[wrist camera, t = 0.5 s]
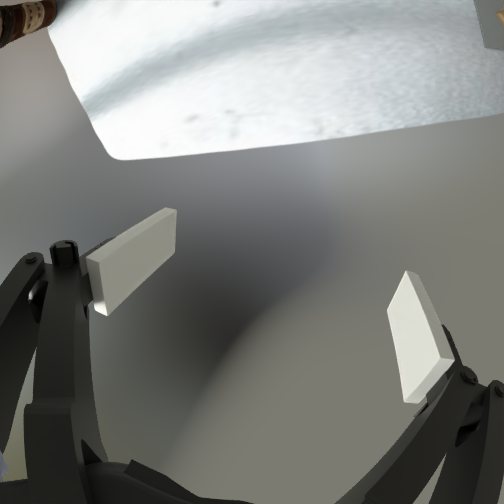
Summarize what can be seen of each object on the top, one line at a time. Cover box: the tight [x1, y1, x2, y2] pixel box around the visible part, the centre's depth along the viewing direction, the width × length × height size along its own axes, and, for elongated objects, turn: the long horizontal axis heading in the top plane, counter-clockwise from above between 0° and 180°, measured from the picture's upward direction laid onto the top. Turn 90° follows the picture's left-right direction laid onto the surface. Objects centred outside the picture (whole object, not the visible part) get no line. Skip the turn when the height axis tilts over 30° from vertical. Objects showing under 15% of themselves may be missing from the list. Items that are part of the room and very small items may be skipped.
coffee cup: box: [0, 0, 56, 48], centre depth 19 cm, size 9×8×13 cm
